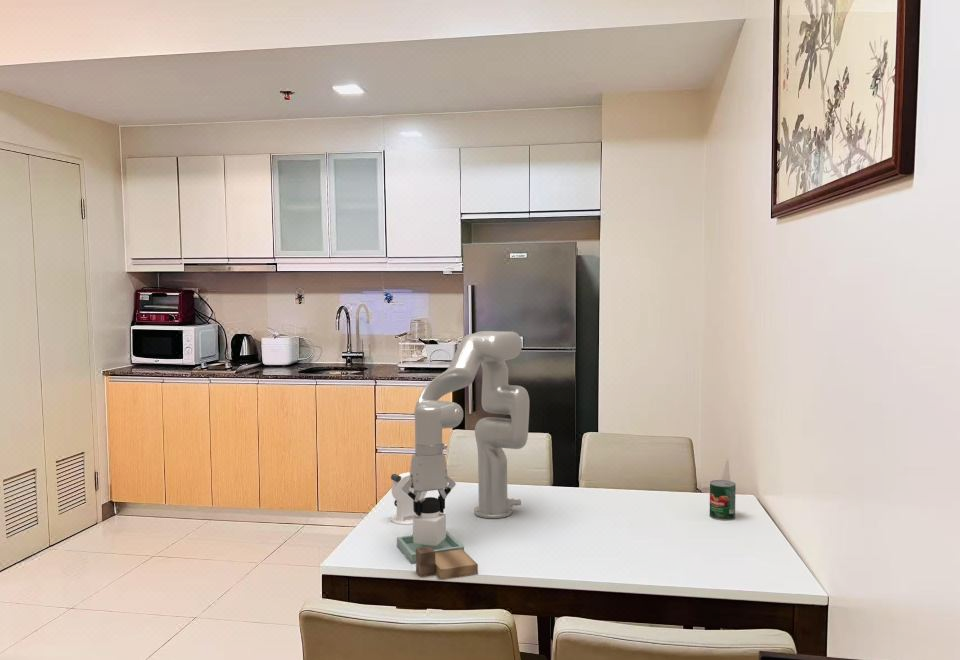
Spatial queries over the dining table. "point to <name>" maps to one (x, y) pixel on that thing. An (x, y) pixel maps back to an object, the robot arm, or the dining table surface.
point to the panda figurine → (403, 500)
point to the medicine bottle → (429, 523)
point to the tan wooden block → (454, 564)
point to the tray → (410, 548)
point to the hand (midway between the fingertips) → (429, 512)
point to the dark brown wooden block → (425, 561)
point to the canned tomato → (722, 499)
